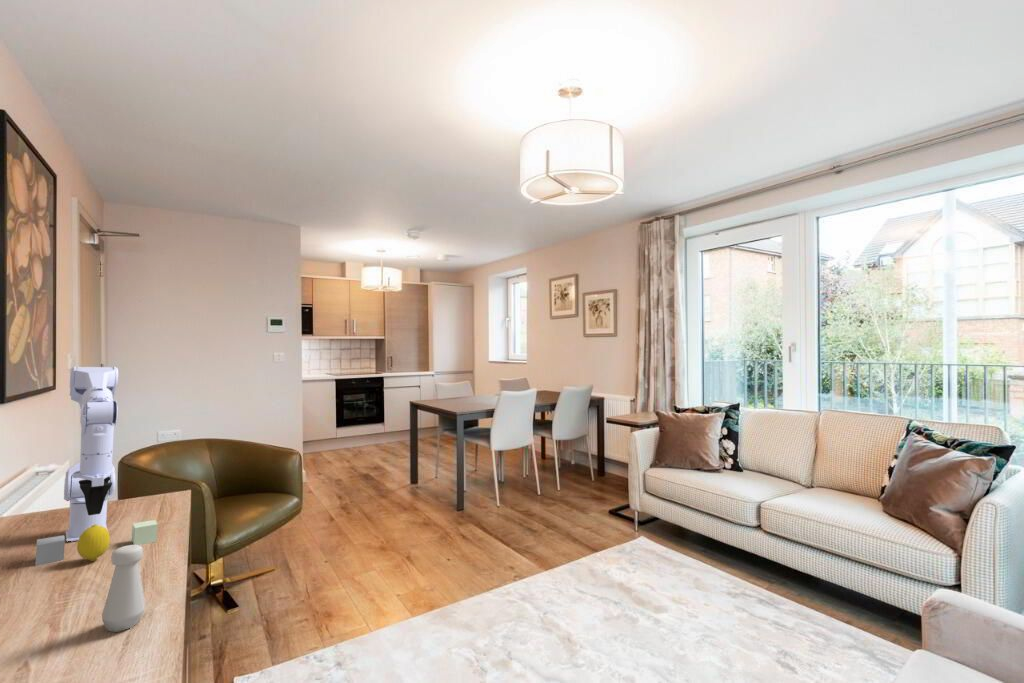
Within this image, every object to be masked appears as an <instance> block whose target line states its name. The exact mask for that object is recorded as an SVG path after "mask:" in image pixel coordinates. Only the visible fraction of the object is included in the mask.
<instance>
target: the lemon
mask: <svg viewBox="0 0 1024 683" xmlns="http://www.w3.org/2000/svg"><path fill="white" fill-rule="evenodd" d="M107 529H108V528H107ZM107 529H106V528H104V527H102V526H98V525H97V524H96V525H93V526H92V527H90V528H88V529H86V530H85V531H84V532H83V533H82V534H81V536H80V538H79V540H77V545H76V548H77V553H78V554H79V556H80V557H81V558H83V559H84V560H85V559H86V560H89V561H90V562H95V561H96V560H97V558H98V559H99V557H101V556H103V555H104V554H105V553H106V552H107V551H108V549H109V546H110V544H111V543H110V542H111V536H110V532H109V530H107Z"/></svg>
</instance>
